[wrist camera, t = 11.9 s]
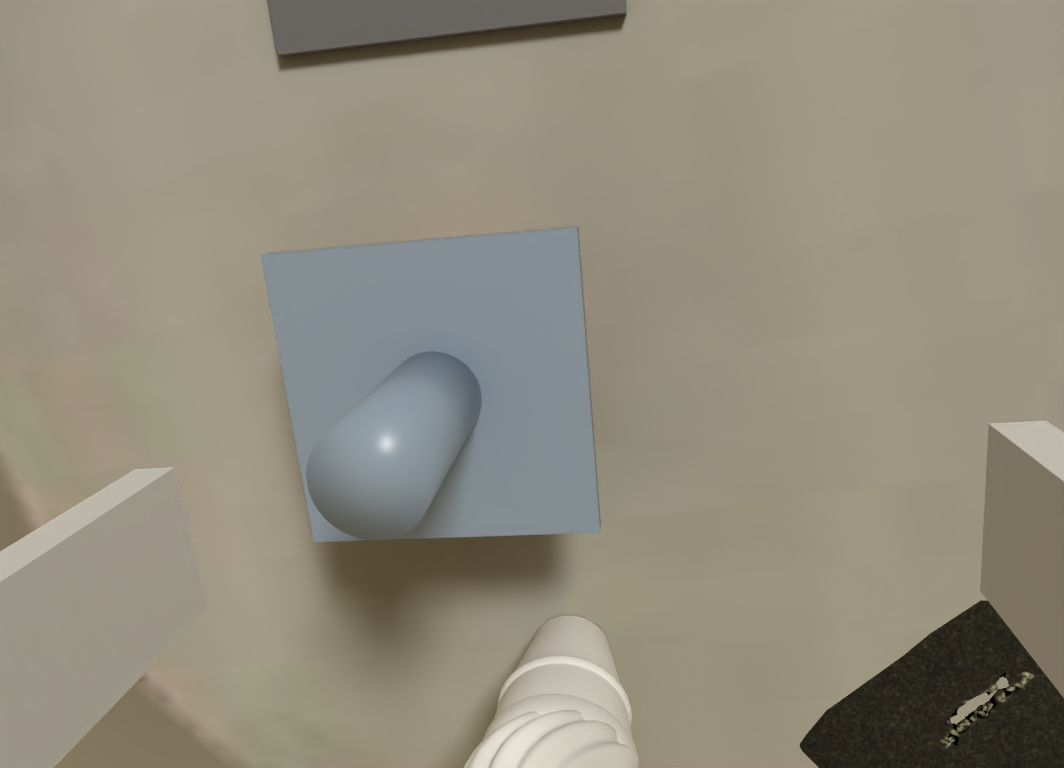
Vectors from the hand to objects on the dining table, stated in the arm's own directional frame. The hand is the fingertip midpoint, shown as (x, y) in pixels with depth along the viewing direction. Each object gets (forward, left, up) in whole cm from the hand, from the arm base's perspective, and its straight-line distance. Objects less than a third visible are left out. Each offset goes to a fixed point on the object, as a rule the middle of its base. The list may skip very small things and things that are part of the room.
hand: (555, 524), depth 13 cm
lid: (+7, +3, -20) cm, 22 cm away
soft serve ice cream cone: (+3, +20, -26) cm, 33 cm away
